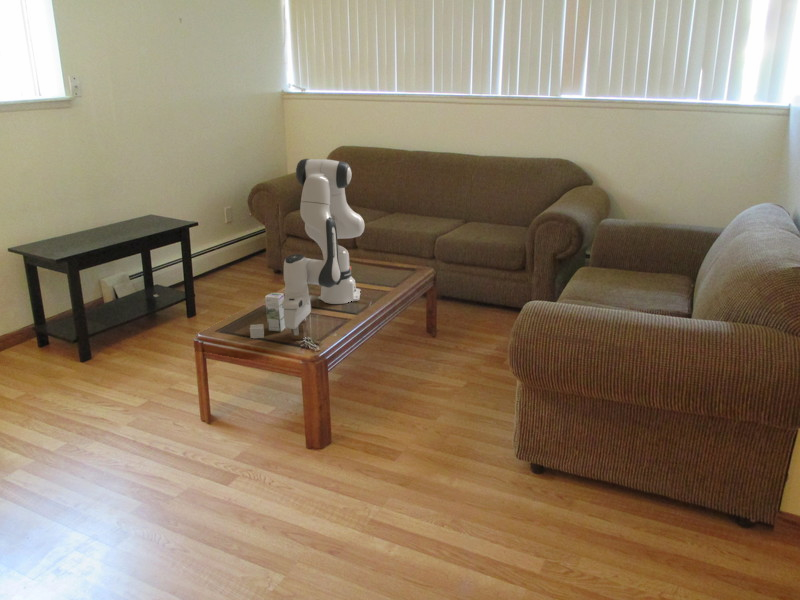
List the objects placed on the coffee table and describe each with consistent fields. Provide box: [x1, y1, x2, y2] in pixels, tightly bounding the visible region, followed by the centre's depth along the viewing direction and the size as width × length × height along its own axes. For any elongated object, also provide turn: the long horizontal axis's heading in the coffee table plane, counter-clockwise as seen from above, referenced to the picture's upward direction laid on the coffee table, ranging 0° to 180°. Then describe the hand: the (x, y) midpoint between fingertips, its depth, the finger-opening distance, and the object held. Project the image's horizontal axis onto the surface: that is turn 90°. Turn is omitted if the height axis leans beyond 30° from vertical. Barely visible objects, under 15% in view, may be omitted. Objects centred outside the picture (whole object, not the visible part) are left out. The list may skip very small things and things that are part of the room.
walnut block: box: [290, 319, 309, 340], centre depth 262 cm, size 5×5×6 cm
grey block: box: [249, 323, 265, 339], centre depth 265 cm, size 5×5×4 cm
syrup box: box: [264, 292, 287, 333], centre depth 270 cm, size 6×6×14 cm
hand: (299, 331), depth 263 cm, fingers closed on walnut block, 5 cm apart
